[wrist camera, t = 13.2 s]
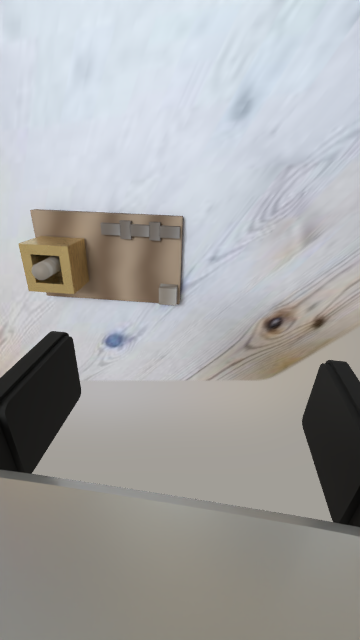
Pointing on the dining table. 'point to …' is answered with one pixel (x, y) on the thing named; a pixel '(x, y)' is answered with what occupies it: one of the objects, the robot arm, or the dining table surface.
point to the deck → (118, 253)
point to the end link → (70, 261)
